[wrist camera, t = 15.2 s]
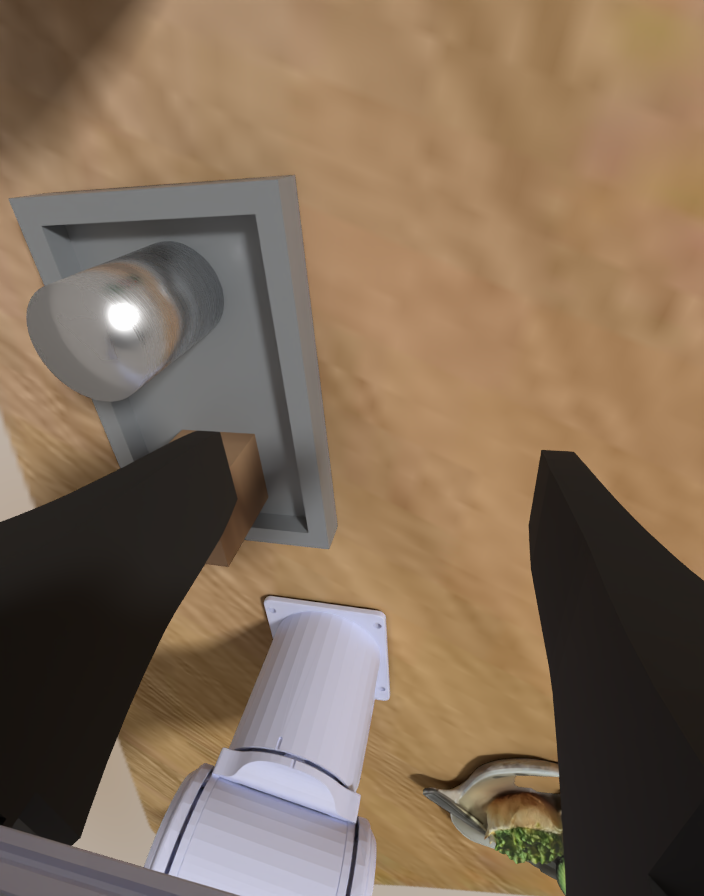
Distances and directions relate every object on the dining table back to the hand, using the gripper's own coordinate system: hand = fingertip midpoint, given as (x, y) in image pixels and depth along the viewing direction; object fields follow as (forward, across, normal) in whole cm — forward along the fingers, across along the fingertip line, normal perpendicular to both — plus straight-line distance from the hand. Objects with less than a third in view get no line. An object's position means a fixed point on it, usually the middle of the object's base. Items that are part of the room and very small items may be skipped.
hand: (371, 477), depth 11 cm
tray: (+10, +10, +3) cm, 15 cm away
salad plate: (+11, -12, +41) cm, 44 cm away
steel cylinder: (+10, +10, -2) cm, 14 cm away
